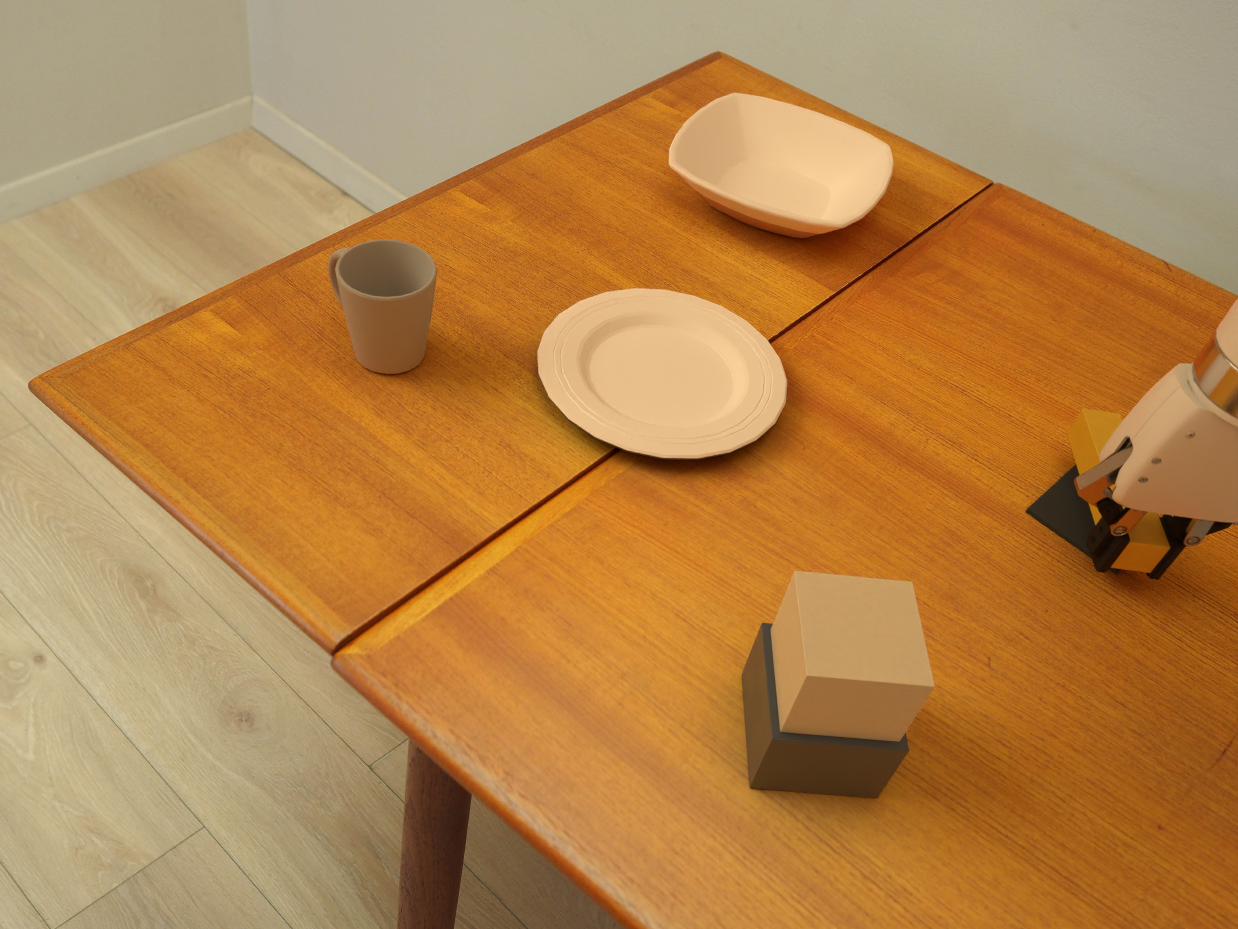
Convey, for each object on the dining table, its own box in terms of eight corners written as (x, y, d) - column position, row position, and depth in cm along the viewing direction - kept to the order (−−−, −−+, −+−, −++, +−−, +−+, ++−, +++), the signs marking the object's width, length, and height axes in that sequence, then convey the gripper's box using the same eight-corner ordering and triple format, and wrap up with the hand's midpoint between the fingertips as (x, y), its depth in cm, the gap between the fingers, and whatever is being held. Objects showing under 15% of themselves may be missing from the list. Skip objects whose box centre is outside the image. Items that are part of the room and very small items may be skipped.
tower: (859, 684, 70) (919, 575, 61) (877, 798, 64) (946, 695, 56) (741, 674, 69) (784, 562, 60) (749, 788, 64) (798, 683, 55)
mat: (1162, 525, 84) (1164, 522, 83) (1115, 575, 79) (1118, 572, 79) (1074, 466, 87) (1076, 463, 87) (1025, 511, 83) (1027, 508, 82)
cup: (390, 397, 83) (386, 312, 76) (301, 339, 86) (291, 253, 80) (456, 352, 87) (458, 268, 81) (370, 298, 91) (365, 214, 84)
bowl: (840, 288, 100) (855, 242, 96) (635, 211, 105) (643, 164, 101) (896, 187, 115) (912, 143, 111) (714, 123, 119) (724, 79, 115)
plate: (755, 506, 80) (760, 489, 78) (497, 426, 82) (498, 408, 81) (802, 343, 94) (807, 326, 92) (581, 279, 96) (583, 262, 95)
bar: (1065, 433, 87) (1082, 407, 84) (1103, 439, 87) (1120, 413, 85) (1108, 567, 77) (1127, 542, 75) (1150, 573, 77) (1171, 548, 75)
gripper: (1363, 358, 68) (1211, 537, 81) (1116, 321, 67) (1004, 508, 81) (1415, 439, 63) (1244, 617, 76) (1148, 401, 62) (1023, 586, 75)
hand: (1122, 559), depth 78 cm, fingers closed on bar, 3 cm apart
